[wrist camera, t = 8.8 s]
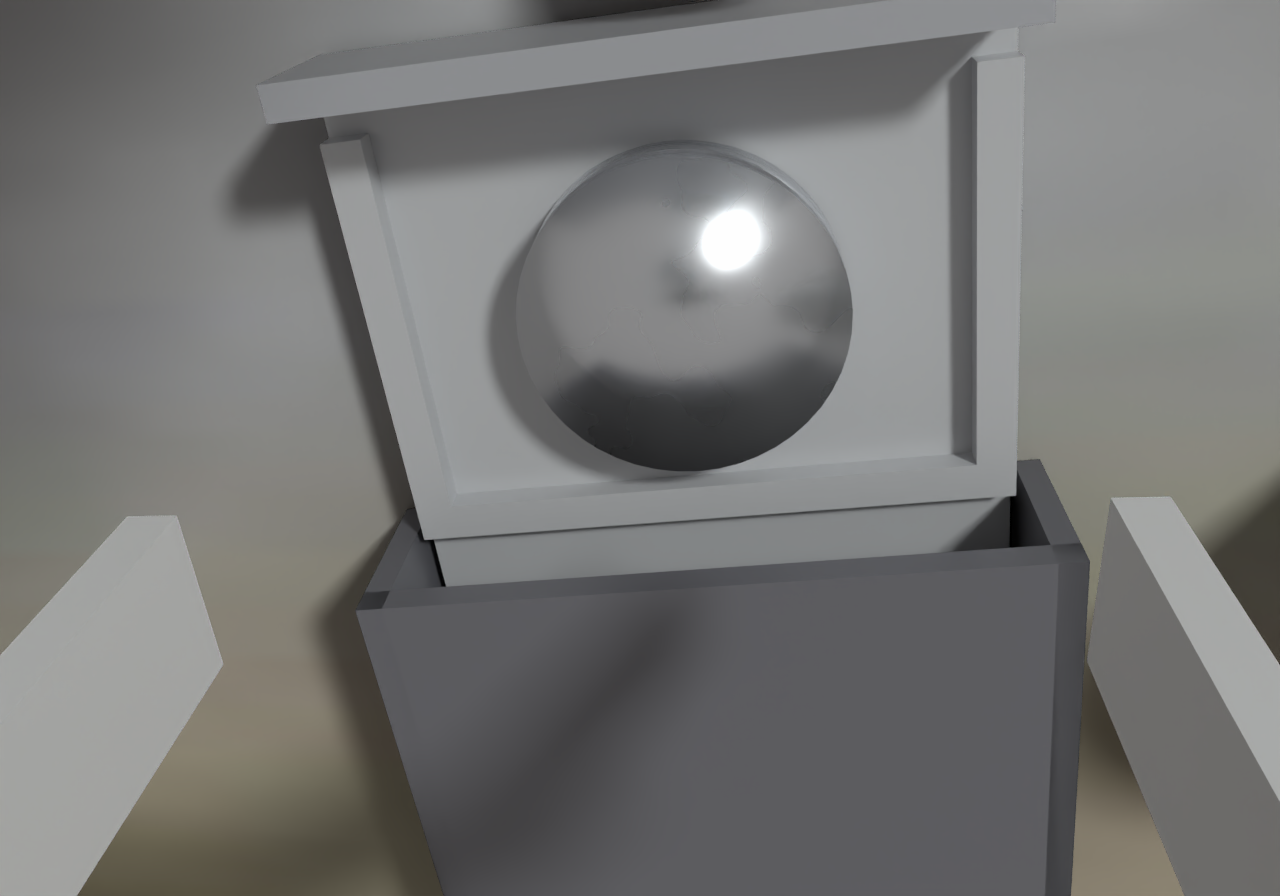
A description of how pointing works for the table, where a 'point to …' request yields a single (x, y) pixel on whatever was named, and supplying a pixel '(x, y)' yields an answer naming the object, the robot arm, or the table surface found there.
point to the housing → (746, 720)
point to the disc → (684, 306)
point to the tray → (731, 115)
